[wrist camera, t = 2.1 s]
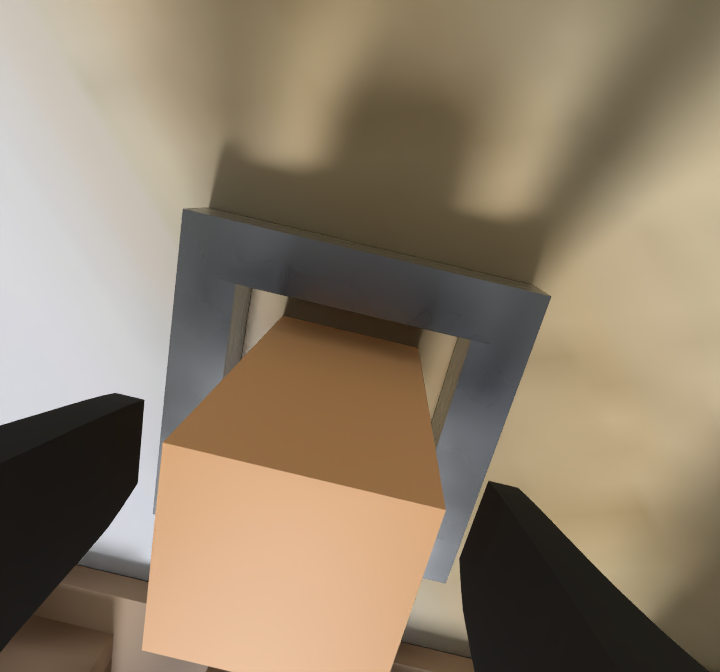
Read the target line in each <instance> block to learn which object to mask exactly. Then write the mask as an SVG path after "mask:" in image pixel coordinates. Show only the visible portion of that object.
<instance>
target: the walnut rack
mask: <svg viewBox="0 0 720 672" xmlns="http://www.w3.org/2000/svg"><path fill="white" fill-rule="evenodd" d="M148 583H149V582H146V581H142V580H138V579H133V578H129V577H125V576H121V575H117V574H112V573H108V572H104V571H100V570H96V569H91V568H87V567H83V566H79V565H75V567H74V568H73V569H72V570H71V571H70V572H69V573H68V575H67V576H66V577H65V578H64V579H63V580H62V581H61V583H60V584H59V585H58V586H57V587H56V588H55V589H54V591H53V592H52V593H51V594H50V595H49V596H48V597H47V599H46V600H45V601H44V602H43V603H42V604H41V605H40V607H39V608H38V609H37V610H36V611H35V612H34V614H33V615H32V616H31V617H30V618H29V619H28V620H27V622H26V623H25V624H24V625H23V626H22V627H21V628H20V630H19V631H18V632H17V633H16V634H15V635H14V636H13V638H12V639H11V640H10V641H9V643H8V644H7V645H6V646H5V647H4V649H3V650H2V651H1V652H0V672H231V671H227V670H222V669H218V668H214V667H210V666H206V665H201V664H197V663H193V662H189V661H185V660H180V659H176V658H172V657H168V656H164V655H159V654H155V653H151V652H147V651H143V650H142V643H143V633H144V623H145V613H146V603H147V593H148ZM390 672H475V671H474V666H473V661H472V659H470V658H466V657H461V656H457V655H453V654H449V653H445V652H440V651H436V650H432V649H428V648H424V647H419V646H415V645H411V644H407V643H402V642H400V645H399V647H398V650H397V653H396V656H395V659H394V662H393V665H392V668H391V671H390Z"/></svg>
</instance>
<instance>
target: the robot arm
mask: <svg viewBox="0 0 720 672" xmlns="http://www.w3.org/2000/svg"><path fill="white" fill-rule="evenodd" d="M143 411H144V400H143V399H139V398H134V397H130V396H126V395H122V394H117V393H113V394H108V395H103V396H99V397H96V398H92V399H88V400H85V401H81V402H78V403H74V404H71V405H67V406H64V407H61V408H57V409H54V410H51V411H47V412H44V413H41V414H37V415H34V416H31V417H27V418H24V419H21V420H17V421H14V422H11V423H7V424H4V425H1V426H0V652H1V651H2V650H3V649H4V647H5V646H6V645H7V644H8V643H9V641H10V640H11V639H12V638H13V636H14V635H15V634H16V633H17V632H18V631H19V630H20V628H21V627H22V626H23V625H24V624H25V623H26V622H27V620H28V619H29V618H30V617H31V616H32V615H33V614H34V612H35V611H36V610H37V609H38V608H39V607H40V605H41V604H42V603H43V602H44V601H45V600H46V599H47V597H48V596H49V595H50V594H51V593H52V592H53V591H54V589H55V588H56V587H57V586H58V585H59V584H60V583H61V581H62V580H63V579H64V578H65V577H66V576H67V575H68V573H69V572H70V571H71V570H72V569H73V568H74V567H75V565H76V564H77V563H78V562H79V561H80V560H81V558H82V557H83V556H84V555H85V554H86V553H87V551H88V550H89V549H90V548H91V547H92V546H93V544H94V543H95V542H96V541H97V540H98V539H99V537H100V536H101V535H102V534H103V533H104V532H105V530H106V529H107V528H108V527H109V525H110V524H111V522H112V521H113V519H114V518H115V517H116V515H117V514H118V512H119V511H120V509H121V508H122V506H123V505H124V503H125V502H126V500H127V499H128V497H129V496H130V494H131V493H132V491H133V490H134V488H135V487H136V485H137V483H138V472H139V460H140V448H141V435H142V423H143ZM459 561H460V578H461V593H462V605H463V613H464V619H465V624H466V630H467V635H468V640H469V646H470V651H471V656H472V661H473V666H474V671H475V672H709V671H708V670H706V669H705V668H704V667H703V666H702V665H701V664H699V663H698V662H697V661H696V660H695V659H693V658H692V657H691V656H690V655H689V654H688V653H686V652H685V651H684V650H683V649H682V648H681V647H680V646H678V645H677V644H676V643H675V642H674V641H673V640H672V639H671V638H669V637H668V636H667V635H666V634H665V633H664V632H663V631H662V630H661V629H659V628H658V627H657V626H656V625H655V624H654V623H653V622H652V621H651V620H650V619H649V618H648V617H647V616H646V615H645V614H644V613H642V612H641V611H640V610H639V609H638V608H637V607H636V606H635V605H634V604H633V603H632V602H631V601H630V600H629V599H628V598H627V597H626V596H625V595H623V594H622V593H621V592H620V591H619V590H618V589H617V588H616V587H615V586H614V585H613V584H612V583H611V582H610V581H609V580H608V579H607V578H606V577H605V576H604V575H603V574H602V573H601V572H600V571H599V570H598V569H597V568H596V567H595V566H594V565H593V564H592V563H591V562H590V561H589V560H588V559H587V558H586V557H585V555H584V554H583V553H582V552H581V551H580V550H579V549H578V548H577V547H576V546H575V545H574V544H573V543H572V542H571V541H570V540H569V539H568V538H567V537H566V536H565V535H564V534H563V533H562V532H561V531H560V529H559V528H558V527H557V526H556V525H555V524H554V523H553V522H552V521H551V520H550V519H549V518H548V517H547V516H546V515H545V514H544V513H543V512H542V511H541V510H540V509H539V508H538V507H537V506H536V505H535V504H534V503H533V502H532V501H531V500H530V499H529V498H528V497H527V496H526V495H525V494H524V493H523V492H522V491H521V490H520V489H519V488H516V487H512V486H508V485H504V484H499V483H495V482H491V481H488V484H487V486H486V489H485V492H484V494H483V497H482V500H481V502H480V505H479V508H478V510H477V513H476V516H475V518H474V521H473V524H472V526H471V529H470V532H469V534H468V537H467V540H466V542H465V545H464V548H463V550H462V553H461V556H460V558H459Z"/></svg>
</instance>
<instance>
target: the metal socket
mask: <svg viewBox="0 0 720 672" xmlns="http://www.w3.org/2000/svg"><path fill="white" fill-rule="evenodd" d="M252 288H254V289H259V290H263V291H267V292H271V293H275V294H280V295H284V296H288V297H292V298H296V299H301V300H305V301H309V302H313V303H317V304H322V305H326V306H330V307H334V308H338V309H343V310H347V311H351V312H355V313H360V314H364V315H368V316H372V317H376V318H381V319H385V320H389V321H393V322H397V323H402V324H406V325H410V326H414V327H418V328H423V329H427V330H431V331H435V332H439V333H444V334H448V335H452V336H456V337H458V339H457V342H456V345H455V349H454V352H453V355H452V358H451V361H450V365H449V368H448V371H447V374H446V378H445V381H444V384H443V387H442V390H441V394H440V397H439V400H438V403H437V407H436V410H435V413H434V416H433V419H432V423H431V426H432V432H433V438H434V444H435V449H436V455H437V461H438V467H439V473H440V479H441V484H442V490H443V496H444V502H445V508H446V511H445V514H444V517H443V520H442V523H441V526H440V529H439V532H438V534H437V537H436V540H435V543H434V546H433V549H432V552H431V555H430V558H429V560H428V563H427V566H426V569H425V572H424V575H423V578H425V579H429V580H433V581H437V582H442V583H446V581H447V578H448V576H449V573H450V570H451V568H452V565H453V562H454V559H455V557H456V554H457V551H458V549H459V546H460V543H461V540H462V538H463V535H464V532H465V530H466V527H467V524H468V521H469V519H470V516H471V513H472V511H473V508H474V505H475V502H476V500H477V497H478V494H479V492H480V489H481V486H482V483H483V481H484V478H485V475H486V473H487V470H488V467H489V464H490V462H491V459H492V456H493V454H494V451H495V448H496V445H497V443H498V440H499V437H500V435H501V432H502V429H503V426H504V424H505V421H506V418H507V415H508V413H509V410H510V407H511V405H512V402H513V399H514V396H515V394H516V391H517V388H518V386H519V383H520V380H521V377H522V375H523V372H524V369H525V367H526V364H527V361H528V358H529V356H530V353H531V350H532V348H533V345H534V342H535V339H536V337H537V334H538V331H539V329H540V326H541V323H542V320H543V318H544V315H545V312H546V310H547V307H548V304H549V301H550V299H551V296H550V295H548V294H547V293H545V292H543V291H542V290H540V289H538V288H537V287H535V286H534V285H531V284H527V283H523V282H519V281H514V280H510V279H506V278H502V277H498V276H493V275H489V274H485V273H481V272H477V271H472V270H468V269H464V268H460V267H456V266H451V265H447V264H443V263H439V262H435V261H430V260H426V259H422V258H418V257H414V256H409V255H405V254H401V253H397V252H393V251H388V250H384V249H380V248H376V247H372V246H367V245H363V244H359V243H355V242H351V241H346V240H342V239H338V238H334V237H330V236H325V235H321V234H317V233H313V232H309V231H304V230H300V229H296V228H292V227H288V226H283V225H279V224H275V223H271V222H267V221H262V220H258V219H254V218H250V217H246V216H241V215H237V214H233V213H229V212H225V211H220V210H216V209H212V208H187V209H183V213H182V224H181V234H180V244H179V254H178V264H177V274H176V285H175V295H174V305H173V315H172V325H171V335H170V346H169V356H168V366H167V376H166V386H165V396H164V407H163V417H162V427H161V437H160V447H159V457H158V468H157V478H156V488H155V498H154V508H153V514H156V504H157V494H158V484H159V474H160V464H161V454H162V445H163V442H164V441H165V440H166V439H167V438H168V436H169V435H170V434H171V433H172V432H173V431H174V430H175V429H176V428H177V427H178V426H179V425H180V424H181V423H182V422H183V421H184V420H185V419H186V417H187V416H188V415H189V414H190V413H191V412H192V411H193V410H194V409H195V408H196V407H197V406H198V405H199V404H200V403H201V402H202V401H203V400H204V398H205V397H206V396H207V395H208V394H209V393H210V392H211V391H212V390H213V389H214V388H215V387H216V386H217V385H218V384H219V383H220V382H221V381H222V380H223V378H224V377H225V376H226V375H227V374H228V373H229V372H230V371H231V370H232V369H233V368H234V367H235V366H236V365H237V364H238V363H239V362H240V361H241V355H242V349H243V342H244V336H245V329H246V322H247V316H248V309H249V303H250V296H251V290H252Z"/></svg>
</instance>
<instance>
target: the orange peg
mask: <svg viewBox="0 0 720 672" xmlns="http://www.w3.org/2000/svg"><path fill="white" fill-rule="evenodd" d="M445 511H446V508H445V502H444V496H443V490H442V484H441V479H440V473H439V467H438V461H437V455H436V449H435V444H434V438H433V432H432V426H431V420H430V415H429V409H428V403H427V397H426V391H425V385H424V380H423V374H422V368H421V362H420V356H419V350H418V348H417V347H412V346H408V345H404V344H400V343H396V342H391V341H387V340H383V339H379V338H375V337H370V336H366V335H362V334H358V333H354V332H349V331H345V330H341V329H337V328H333V327H328V326H324V325H320V324H316V323H312V322H307V321H303V320H299V319H295V318H290V317H286V316H282V317H281V318H280V319H279V320H278V322H277V323H276V324H275V325H274V326H273V327H272V328H271V329H270V330H269V331H268V332H267V333H266V334H265V335H264V336H263V337H262V338H261V339H260V340H259V342H258V343H257V344H256V345H255V346H254V347H253V348H252V349H251V350H250V351H249V352H248V353H247V354H246V355H245V356H244V357H243V358H242V359H241V361H240V362H239V363H238V364H237V365H236V366H235V367H234V368H233V369H232V370H231V371H230V372H229V373H228V374H227V375H226V376H225V377H224V378H223V380H222V381H221V382H220V383H219V384H218V385H217V386H216V387H215V388H214V389H213V390H212V391H211V392H210V393H209V394H208V395H207V396H206V397H205V398H204V400H203V401H202V402H201V403H200V404H199V405H198V406H197V407H196V408H195V409H194V410H193V411H192V412H191V413H190V414H189V415H188V416H187V417H186V419H185V420H184V421H183V422H182V423H181V424H180V425H179V426H178V427H177V428H176V429H175V430H174V431H173V432H172V433H171V434H170V435H169V436H168V438H167V439H166V440H165V441H164V442H163V445H162V454H161V464H160V474H159V484H158V494H157V504H156V514H155V524H154V534H153V544H152V554H151V564H150V573H149V583H148V593H147V603H146V613H145V623H144V633H143V643H142V650H143V651H147V652H151V653H155V654H159V655H164V656H168V657H172V658H176V659H180V660H185V661H189V662H193V663H197V664H201V665H206V666H210V667H214V668H218V669H222V670H227V671H231V672H390V671H391V668H392V665H393V662H394V659H395V656H396V653H397V650H398V647H399V645H400V642H401V639H402V636H403V633H404V630H405V627H406V624H407V621H408V618H409V616H410V613H411V610H412V607H413V604H414V601H415V598H416V595H417V592H418V589H419V587H420V584H421V581H422V578H423V575H424V572H425V569H426V566H427V563H428V560H429V558H430V555H431V552H432V549H433V546H434V543H435V540H436V537H437V534H438V532H439V529H440V526H441V523H442V520H443V517H444V514H445Z"/></svg>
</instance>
